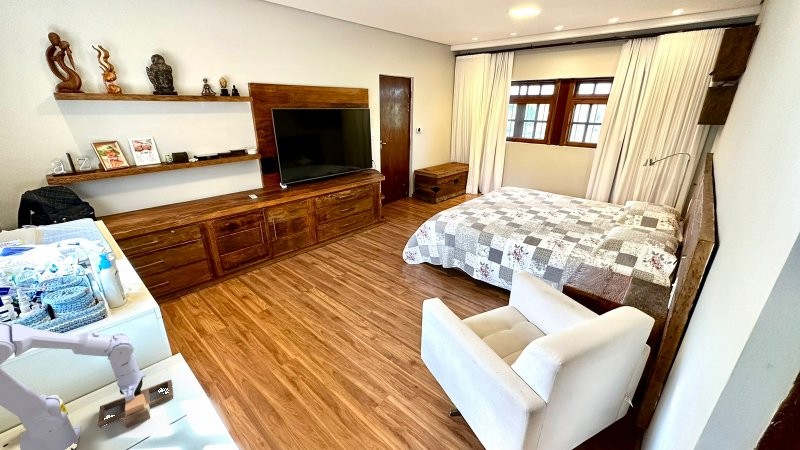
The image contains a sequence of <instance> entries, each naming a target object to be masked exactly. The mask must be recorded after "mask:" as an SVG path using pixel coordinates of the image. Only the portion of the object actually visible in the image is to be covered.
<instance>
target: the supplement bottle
mask: <svg viewBox="0 0 800 450" xmlns="http://www.w3.org/2000/svg"><path fill="white" fill-rule="evenodd" d="M48 396H49V397H56V398H58V399H59V400H60V409H61V412H64V413H66V414H67V416H69V411H68V409H67V406H66V405H65V403H64V401H63V400H62V398H60V397H59V395H57V394H52V395H48Z"/></svg>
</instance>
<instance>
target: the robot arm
mask: <svg viewBox="0 0 800 450" xmlns="http://www.w3.org/2000/svg"><path fill="white" fill-rule="evenodd" d="M31 349H54V350H55V349H56V350H57V349H58V350H71V351H72V353H73V354H74V355H81V356H93V357H94V356H95V357H107V360H108V361H110V363H109V364H110V366H111V368H112V372H113V374H114V377H115V379H116V383H117V384H116V385H117V387H118V388H119V393H120V395H123V396H124V397H125V400H126V401H129V400H132V399H134V398H135V396H138V395H140V394H141V390H142V387H143V383H144V382H143V380H144V379H143V378H145V377H146V376H147V372H146V371H140V367H139V364H138V361H137V358H136V355H135V353H134V347H133V345H132V343H131V341H130V339H129V337H128V336H127V334H124V333H122V332H119V333H115V334H112V335H110V334H107V335H106V334H100V332H98V331H93V332H92V333H89V332H84V333H82V334H80V335H72V334H66V333H60V332H55V331H50V330H43V329H36V328H32V327H30V326H26V325H24V324H21V323H11V324H10V323H8V322H4V321H3V322H2V321H0V407H2V408H4V409H5V410H7V411H9V412H10V413H12V415H15V416H16V417H17V418H18V419H19V421H20V423H21V425H22V426H23V428H24V429H26V431H25V432H23V433H22V434H21V436H20V440H19V448H20V450H65V449H67V448H68V447H70V446H71V445H72V444H73V443H74V444H77V442H78V443H79V440H78V439H80V434H81V433H80V432H81V426H80V425H78V426H76V427H74V426H73V425H72V423H71V420H70V418H69V417H68V416H69V415H68V416H67V414H66V413H64V412H61V409H60V400H59V399H58V398H56V397H49V396H50V395H46V394H45V393H41V394H38V393H37V392H36V391H34V390H33V389H32V388H30V387H28V386H27V385H26V384H24V383H23V382H21V381H20V380H19V379H17V378H16V377H14V376H13V375H12V374H10V373H9V372H8V371H6V370H5V369H4V368H2V367H1V365H2V364H3V363H4V362H6V361H7V360H8V359H9V358H10V357H11V356H12V355H14V357H18V356H20V355H22V354H24V353H26V352H27V351H29V350H31Z"/></svg>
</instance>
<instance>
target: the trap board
mask: <svg viewBox="0 0 800 450" xmlns="http://www.w3.org/2000/svg"><path fill="white" fill-rule="evenodd" d="M172 386H173V381H172V379H168V380H166V381H162V382H160V383H158V384H156V385H155V384H154V385H152V386H150V387H146V388H145V389H141V394H143V395H144V397H145V400H146V409H143V410H141V411H138V412H136V413H133V414H131V415H128V416H127V414H126V412H125V403H126V400H125V396H123V397H120V398H118V399H115V400H112V401H109V402H107V403H105V404H102V405H99V411H98V420H97V425H98V427H101V428H103V427H105V426H104V425H106V424H108V425H110V424H109V423H111V422H113V423H115V422H114V421H116V420H118V421H120V420H119V419H121V418H123V419H121V420H122V421H123V424H124V426H125V428H126V427H127V428H130V427H132V426H134V425H137V424H140V423H141V422H144V421H146V420H148V419H150V418H151V408H152V407H154V406H157V405H160V404H162V403H165V402H167V401H169V399H170V400H172V399H174V398H173V397H174V388H173V387H172ZM160 388H162V389H163V388H164V389H165V388H166V389H167V388H168V390H169V391H168V390H167V391H168V392H169V393H167V394H165V391H166V389H165V391H163V392H160V393H159V392H158V390H159V389H160ZM164 389H163V390H164ZM160 390H161V389H160ZM160 390H159V391H160ZM167 391H166V392H167ZM163 393H164V394H163ZM171 398H172V399H171ZM107 415H110V416H111V415H115V416H113V417H110V418H108V419H105V420H104V418H106V416H107ZM116 422H117V421H116ZM111 424H112V423H111ZM102 426H103V427H102ZM106 426H107V425H106ZM129 426H130V427H129Z"/></svg>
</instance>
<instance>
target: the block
mask: <svg viewBox="0 0 800 450" xmlns="http://www.w3.org/2000/svg"><path fill="white" fill-rule="evenodd" d="M143 409H146V400H145V397H144V395H143V394H140V395H138V396H135V398H134V399H132V400H129V401H126V403H125V412H126V414H127V416H128V415H131V414H133V413H136V412H138V411H141V410H143Z"/></svg>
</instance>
